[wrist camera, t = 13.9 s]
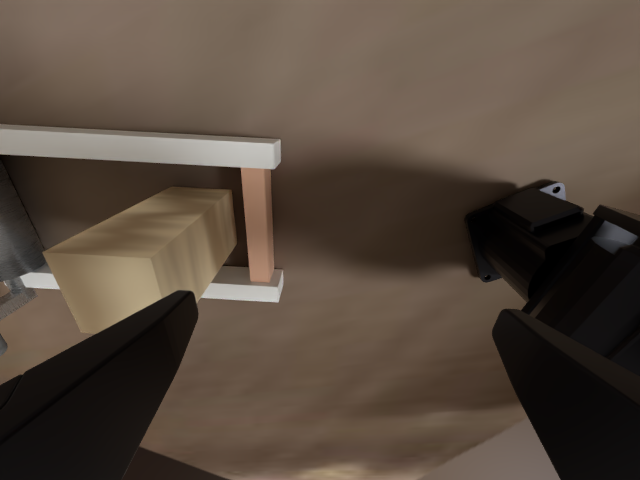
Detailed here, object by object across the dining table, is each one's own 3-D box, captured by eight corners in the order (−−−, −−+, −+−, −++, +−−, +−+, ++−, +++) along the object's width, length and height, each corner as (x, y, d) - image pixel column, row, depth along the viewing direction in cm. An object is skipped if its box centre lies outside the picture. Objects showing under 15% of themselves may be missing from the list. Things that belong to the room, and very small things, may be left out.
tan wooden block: (231, 189, 20) (150, 258, 11) (237, 243, 22) (173, 338, 13) (171, 186, 20) (41, 252, 11) (182, 240, 22) (81, 332, 13)
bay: (280, 122, 18) (255, 131, 12) (283, 318, 25) (270, 381, 19) (-65, 104, 18) (-256, 104, 12) (42, 303, 25) (-42, 361, 20)
